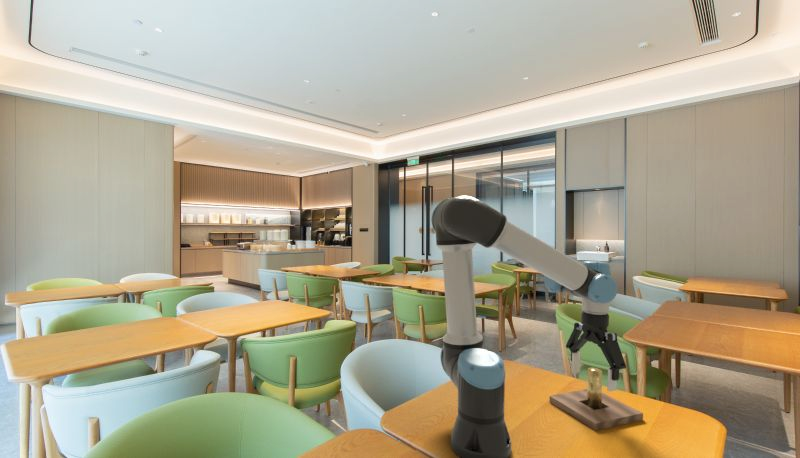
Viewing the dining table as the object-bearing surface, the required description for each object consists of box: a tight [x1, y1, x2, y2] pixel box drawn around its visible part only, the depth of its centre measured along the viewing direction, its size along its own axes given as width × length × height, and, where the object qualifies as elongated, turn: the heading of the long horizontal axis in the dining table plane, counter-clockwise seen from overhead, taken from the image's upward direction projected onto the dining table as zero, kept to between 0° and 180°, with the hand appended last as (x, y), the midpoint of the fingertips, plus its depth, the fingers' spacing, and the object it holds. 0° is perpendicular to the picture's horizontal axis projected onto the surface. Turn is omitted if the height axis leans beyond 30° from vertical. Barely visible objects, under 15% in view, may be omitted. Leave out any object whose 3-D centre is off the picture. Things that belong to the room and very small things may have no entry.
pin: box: [586, 367, 603, 410], centre depth 116 cm, size 4×4×12 cm
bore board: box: [549, 388, 644, 431], centre depth 116 cm, size 18×18×2 cm
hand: (592, 381), depth 116 cm, fingers open, 13 cm apart
